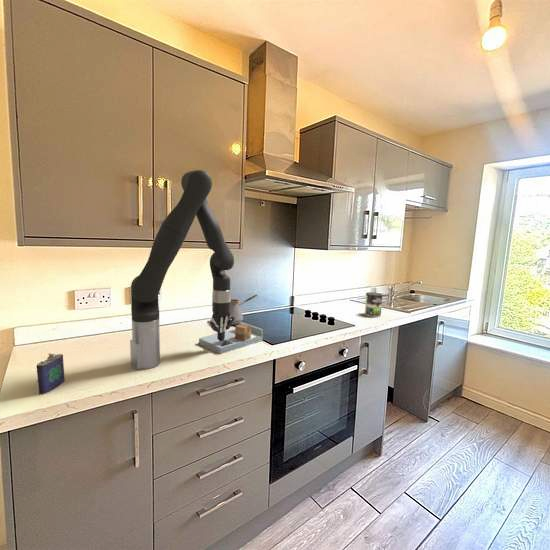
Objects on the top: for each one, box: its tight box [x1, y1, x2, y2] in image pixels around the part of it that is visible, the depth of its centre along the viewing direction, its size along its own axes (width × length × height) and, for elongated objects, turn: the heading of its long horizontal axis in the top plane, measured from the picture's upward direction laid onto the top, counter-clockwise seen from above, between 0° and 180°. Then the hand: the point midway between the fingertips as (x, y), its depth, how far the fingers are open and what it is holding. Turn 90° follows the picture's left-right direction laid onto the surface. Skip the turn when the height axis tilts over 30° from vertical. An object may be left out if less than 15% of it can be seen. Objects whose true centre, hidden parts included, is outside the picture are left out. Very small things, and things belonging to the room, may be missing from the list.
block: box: [234, 322, 251, 341], centre depth 135 cm, size 5×5×6 cm
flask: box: [36, 353, 66, 395], centre depth 93 cm, size 9×3×11 cm, turn 178°
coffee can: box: [364, 291, 384, 318], centre depth 195 cm, size 10×10×14 cm
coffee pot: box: [230, 294, 259, 326], centre depth 169 cm, size 21×12×15 cm, turn 124°
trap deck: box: [198, 321, 264, 355], centre depth 137 cm, size 24×16×6 cm, turn 136°
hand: (221, 340), depth 128 cm, fingers closed
